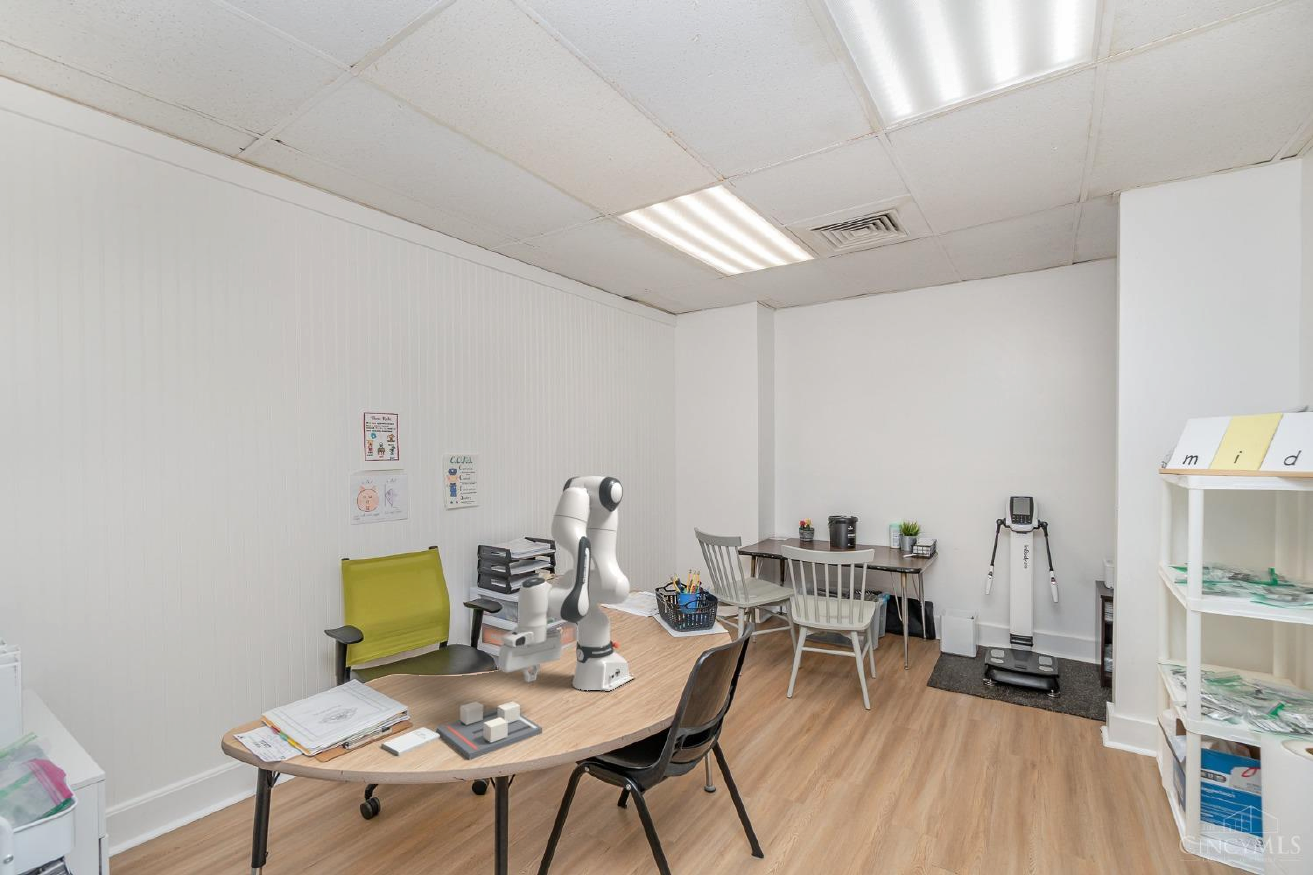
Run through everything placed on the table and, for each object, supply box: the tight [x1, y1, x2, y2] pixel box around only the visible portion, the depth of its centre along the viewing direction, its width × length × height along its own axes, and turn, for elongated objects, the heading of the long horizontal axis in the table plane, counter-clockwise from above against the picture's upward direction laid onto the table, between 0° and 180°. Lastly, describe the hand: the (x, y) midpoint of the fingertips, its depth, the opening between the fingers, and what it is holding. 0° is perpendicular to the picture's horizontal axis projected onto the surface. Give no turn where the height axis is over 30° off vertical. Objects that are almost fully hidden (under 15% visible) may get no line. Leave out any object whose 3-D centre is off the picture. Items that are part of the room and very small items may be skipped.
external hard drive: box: [380, 726, 441, 757], centre depth 163 cm, size 2×8×12 cm
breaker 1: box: [459, 701, 484, 725], centre depth 173 cm, size 5×4×4 cm
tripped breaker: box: [497, 700, 521, 723], centre depth 173 cm, size 5×4×4 cm
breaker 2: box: [483, 717, 508, 743], centre depth 163 cm, size 5×4×4 cm
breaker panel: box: [436, 707, 543, 761], centre depth 169 cm, size 22×20×2 cm
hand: (530, 680), depth 178 cm, fingers closed
